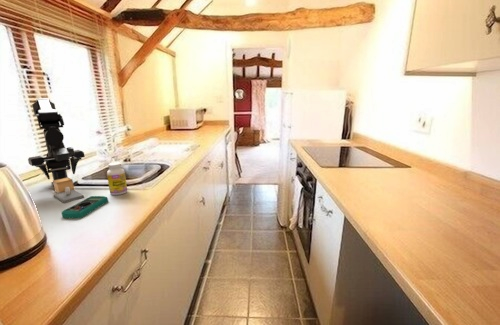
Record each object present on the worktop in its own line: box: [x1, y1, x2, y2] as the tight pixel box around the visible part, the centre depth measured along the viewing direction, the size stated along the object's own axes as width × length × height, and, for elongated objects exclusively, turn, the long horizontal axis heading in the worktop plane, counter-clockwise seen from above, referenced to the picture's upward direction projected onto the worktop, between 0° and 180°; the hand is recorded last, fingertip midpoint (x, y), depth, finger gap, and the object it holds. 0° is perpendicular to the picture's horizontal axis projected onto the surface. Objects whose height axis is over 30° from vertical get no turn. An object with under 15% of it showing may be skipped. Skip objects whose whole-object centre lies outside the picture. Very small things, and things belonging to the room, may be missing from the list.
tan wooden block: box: [52, 177, 75, 193], centre depth 112 cm, size 6×6×5 cm
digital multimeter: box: [61, 195, 109, 219], centre depth 93 cm, size 7×15×3 cm, turn 173°
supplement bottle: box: [106, 161, 128, 196], centre depth 107 cm, size 7×7×13 cm
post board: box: [53, 187, 85, 204], centre depth 105 cm, size 12×7×4 cm, turn 52°
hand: (61, 176), depth 111 cm, fingers open, 9 cm apart
